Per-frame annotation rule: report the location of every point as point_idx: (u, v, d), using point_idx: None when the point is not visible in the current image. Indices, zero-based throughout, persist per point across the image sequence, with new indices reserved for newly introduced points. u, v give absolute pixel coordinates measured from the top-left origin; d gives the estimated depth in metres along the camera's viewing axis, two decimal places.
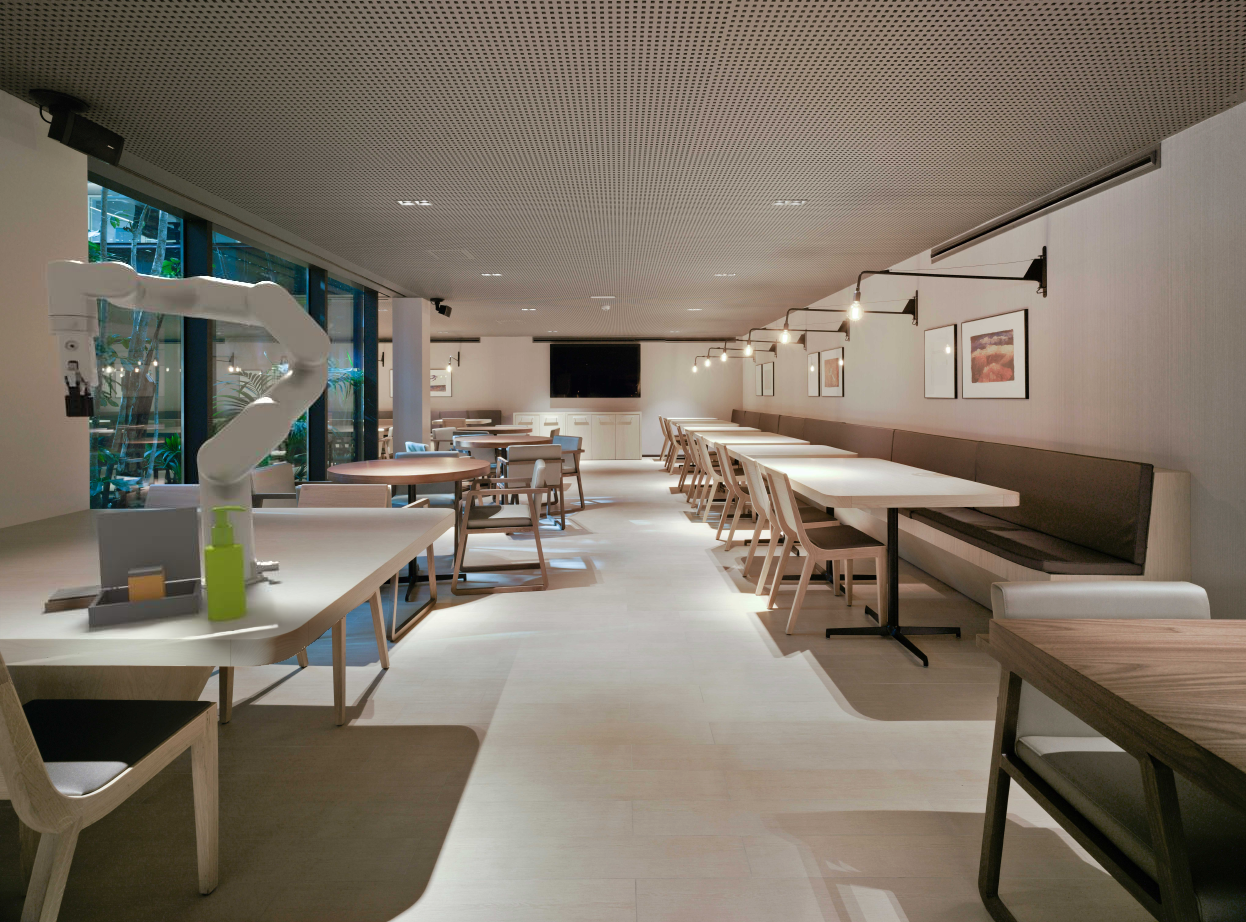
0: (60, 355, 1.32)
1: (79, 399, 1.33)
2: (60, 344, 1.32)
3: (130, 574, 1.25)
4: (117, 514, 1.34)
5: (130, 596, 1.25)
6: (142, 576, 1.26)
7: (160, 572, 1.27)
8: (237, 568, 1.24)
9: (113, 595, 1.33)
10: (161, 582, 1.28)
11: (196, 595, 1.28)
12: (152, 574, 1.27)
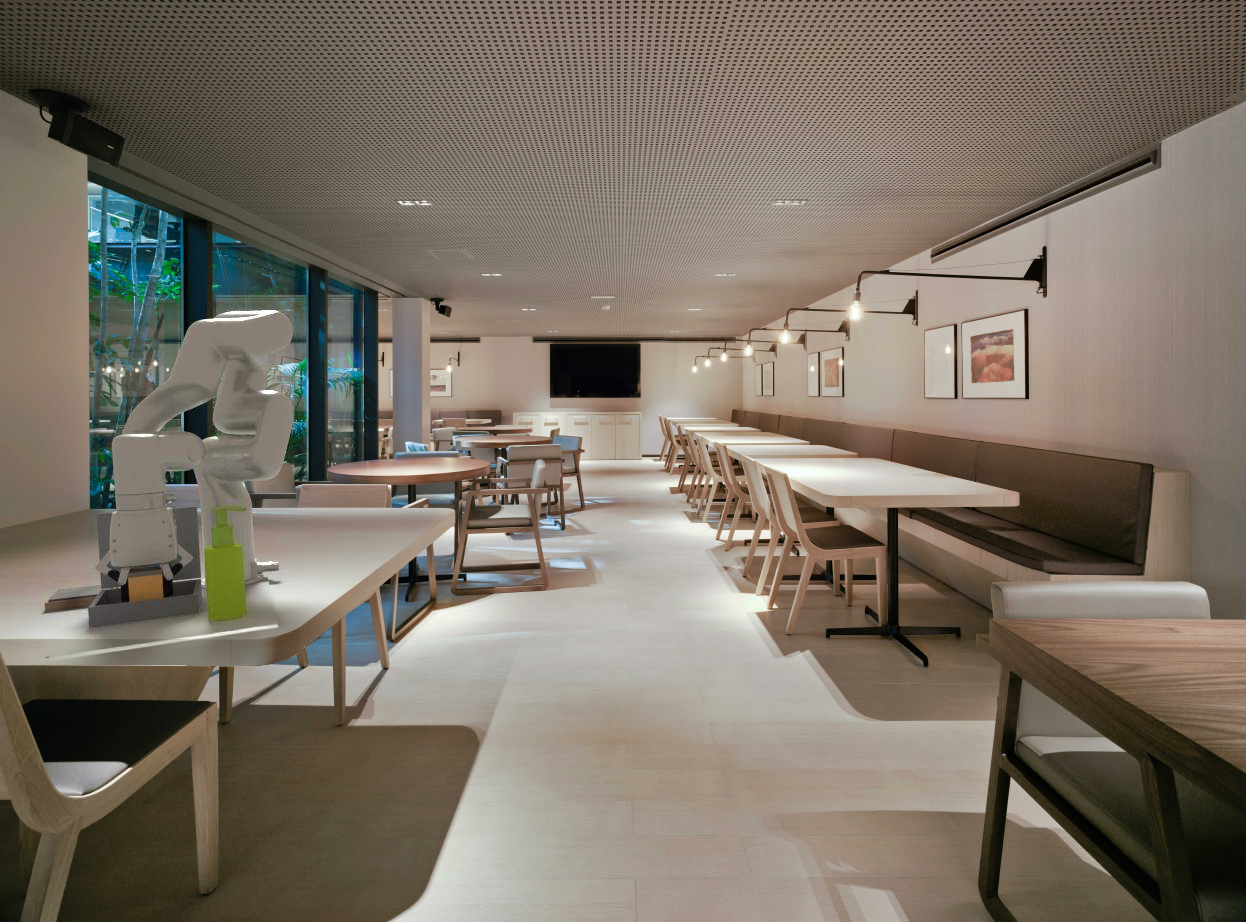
0: (173, 533, 1.29)
1: (172, 581, 1.31)
2: (171, 521, 1.28)
3: (130, 574, 1.25)
4: None
5: (130, 596, 1.25)
6: (142, 576, 1.26)
7: (160, 572, 1.27)
8: (237, 568, 1.24)
9: (113, 595, 1.33)
10: (161, 582, 1.28)
11: (196, 595, 1.28)
12: (152, 574, 1.27)
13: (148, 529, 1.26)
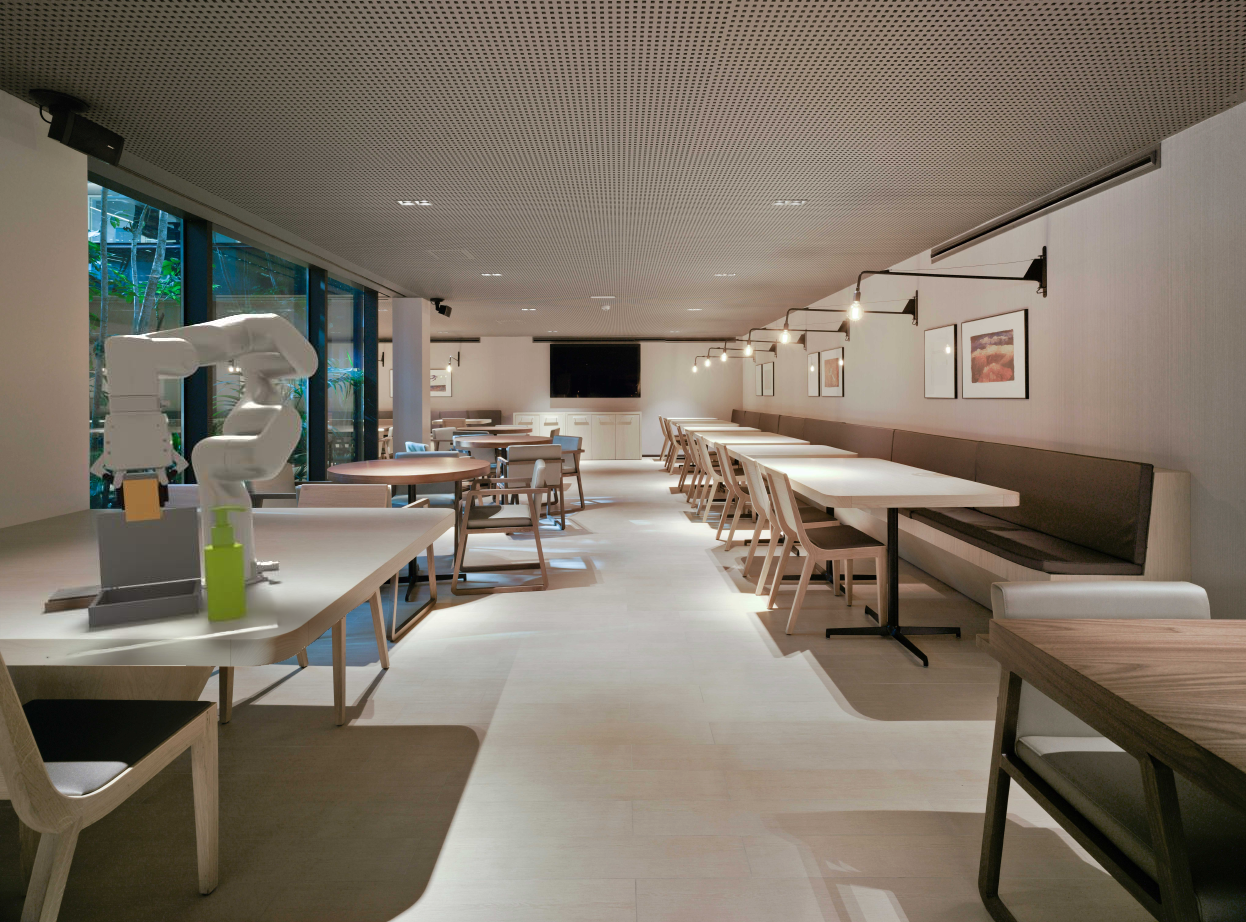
0: (168, 437, 1.27)
1: None
2: (165, 426, 1.27)
3: (125, 477, 1.24)
4: (117, 514, 1.34)
5: (125, 499, 1.25)
6: (137, 480, 1.25)
7: (155, 476, 1.26)
8: (237, 568, 1.24)
9: (113, 595, 1.33)
10: (156, 487, 1.27)
11: (196, 595, 1.28)
12: (147, 478, 1.26)
13: (142, 432, 1.25)
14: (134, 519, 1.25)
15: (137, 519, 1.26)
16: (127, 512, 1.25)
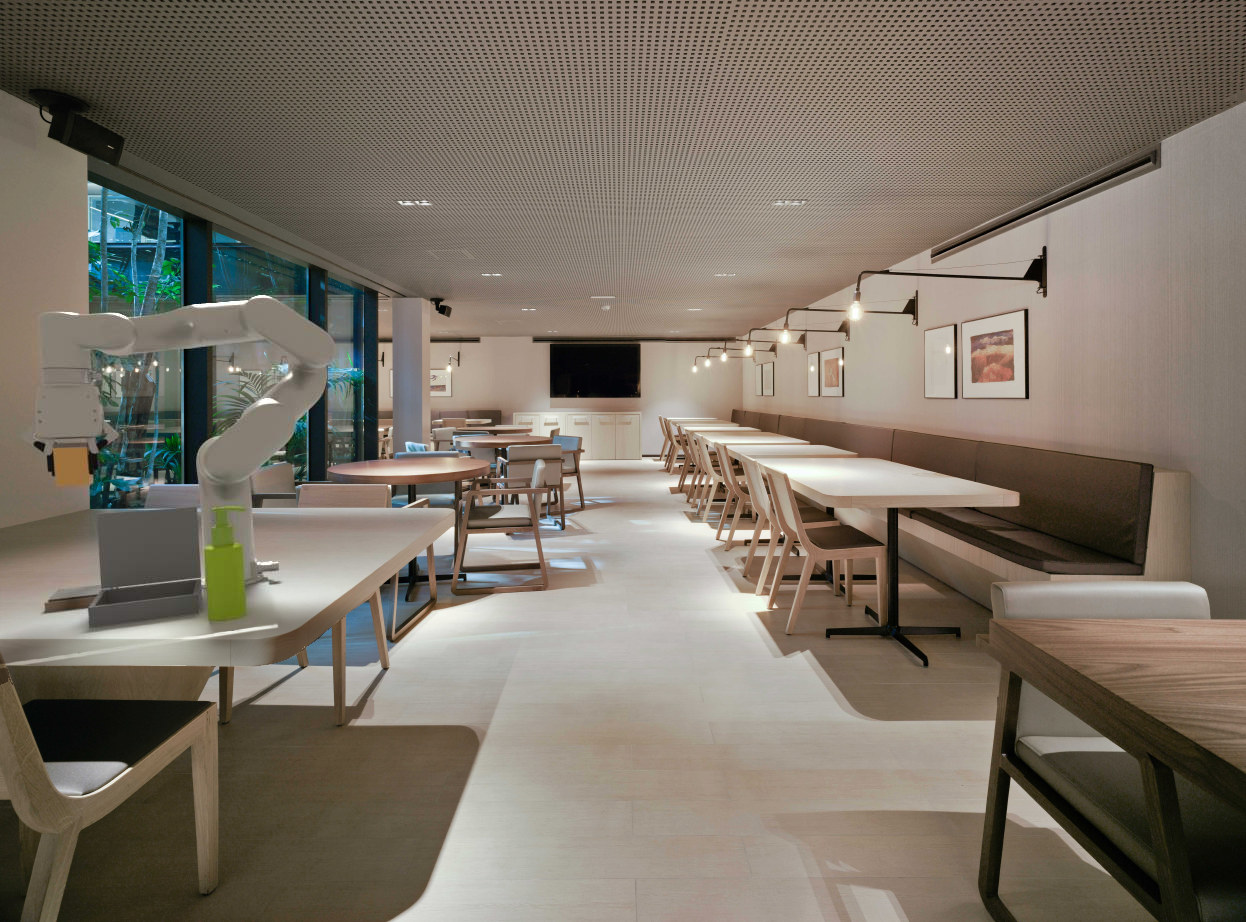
0: (98, 408, 1.35)
1: (98, 456, 1.38)
2: (96, 398, 1.35)
3: (55, 444, 1.32)
4: (117, 514, 1.34)
5: (55, 466, 1.32)
6: (67, 447, 1.33)
7: (85, 445, 1.34)
8: (237, 568, 1.24)
9: (113, 595, 1.33)
10: (86, 454, 1.34)
11: (196, 595, 1.28)
12: (77, 446, 1.34)
13: (73, 403, 1.33)
14: (63, 484, 1.33)
15: (66, 484, 1.33)
16: (57, 478, 1.32)
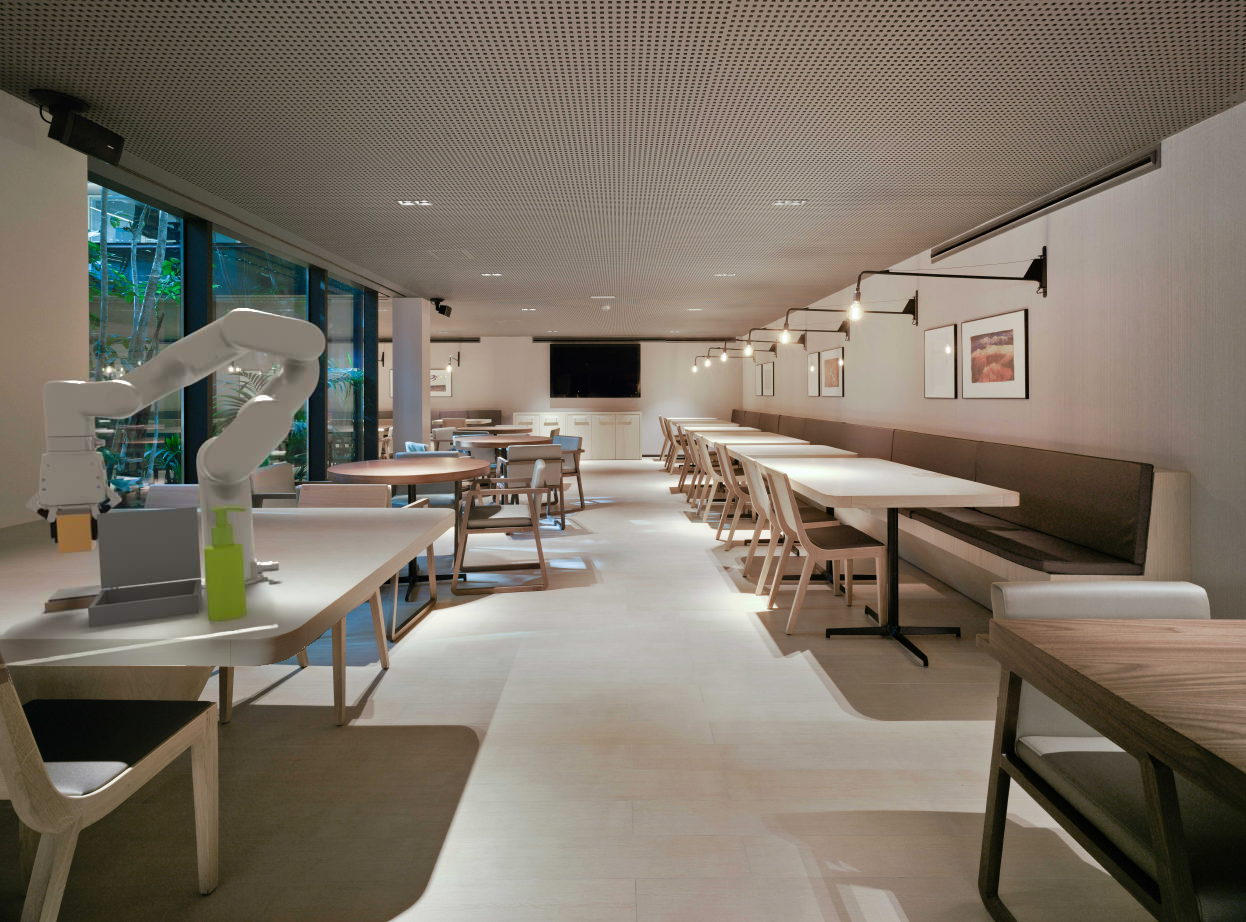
0: (101, 475, 1.36)
1: None
2: (99, 464, 1.36)
3: (58, 512, 1.33)
4: (117, 514, 1.34)
5: (58, 533, 1.33)
6: (70, 514, 1.34)
7: (88, 511, 1.35)
8: (237, 568, 1.24)
9: (113, 595, 1.33)
10: (89, 521, 1.35)
11: (196, 595, 1.28)
12: (80, 513, 1.34)
13: (77, 470, 1.34)
14: (66, 551, 1.34)
15: (69, 551, 1.34)
16: (60, 545, 1.33)
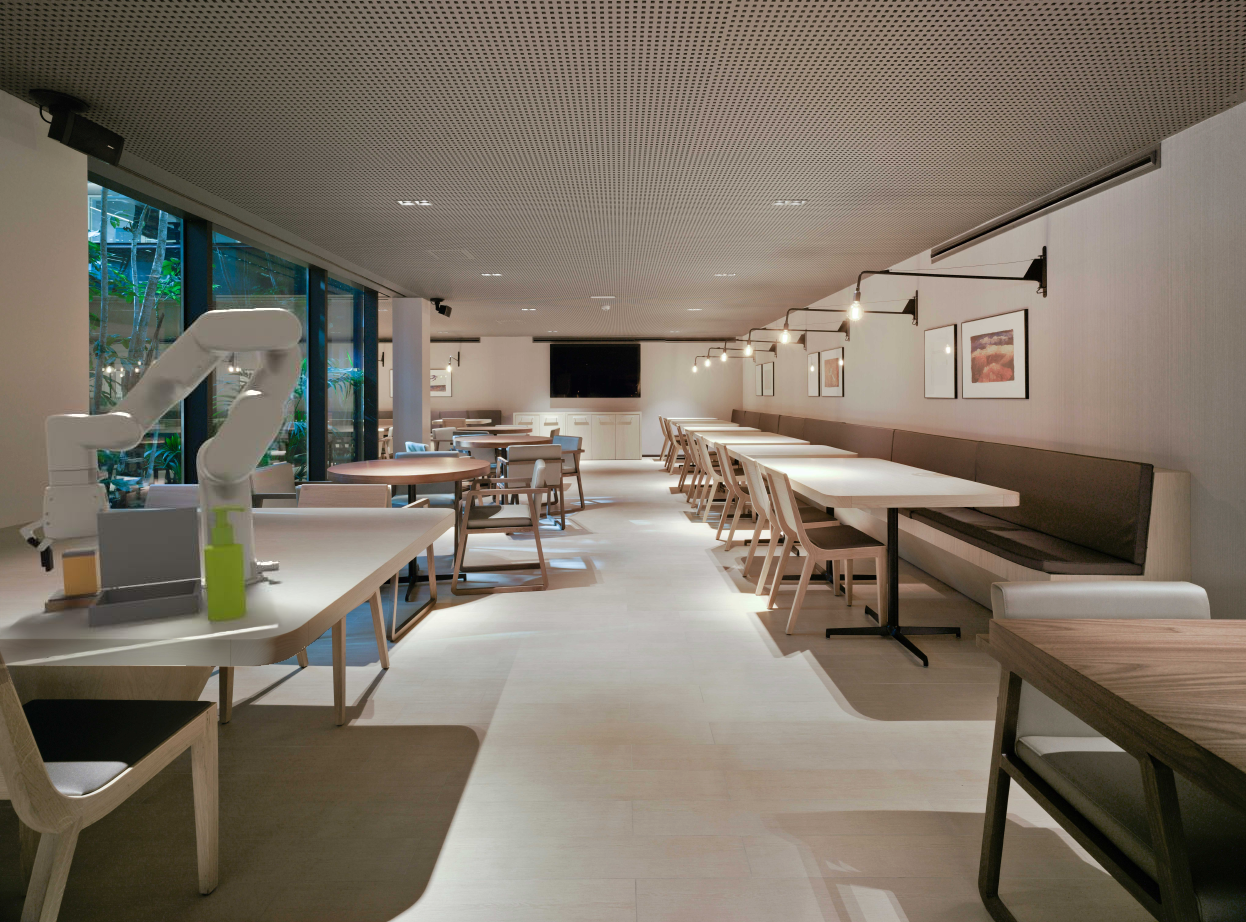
0: (104, 507, 1.37)
1: None
2: (102, 497, 1.37)
3: (64, 555, 1.34)
4: (117, 514, 1.34)
5: (64, 575, 1.34)
6: (76, 557, 1.35)
7: (93, 553, 1.36)
8: (237, 568, 1.24)
9: (113, 595, 1.33)
10: (94, 562, 1.36)
11: (196, 595, 1.28)
12: (85, 555, 1.35)
13: (80, 503, 1.35)
14: (72, 593, 1.35)
15: (75, 593, 1.35)
16: (66, 587, 1.34)
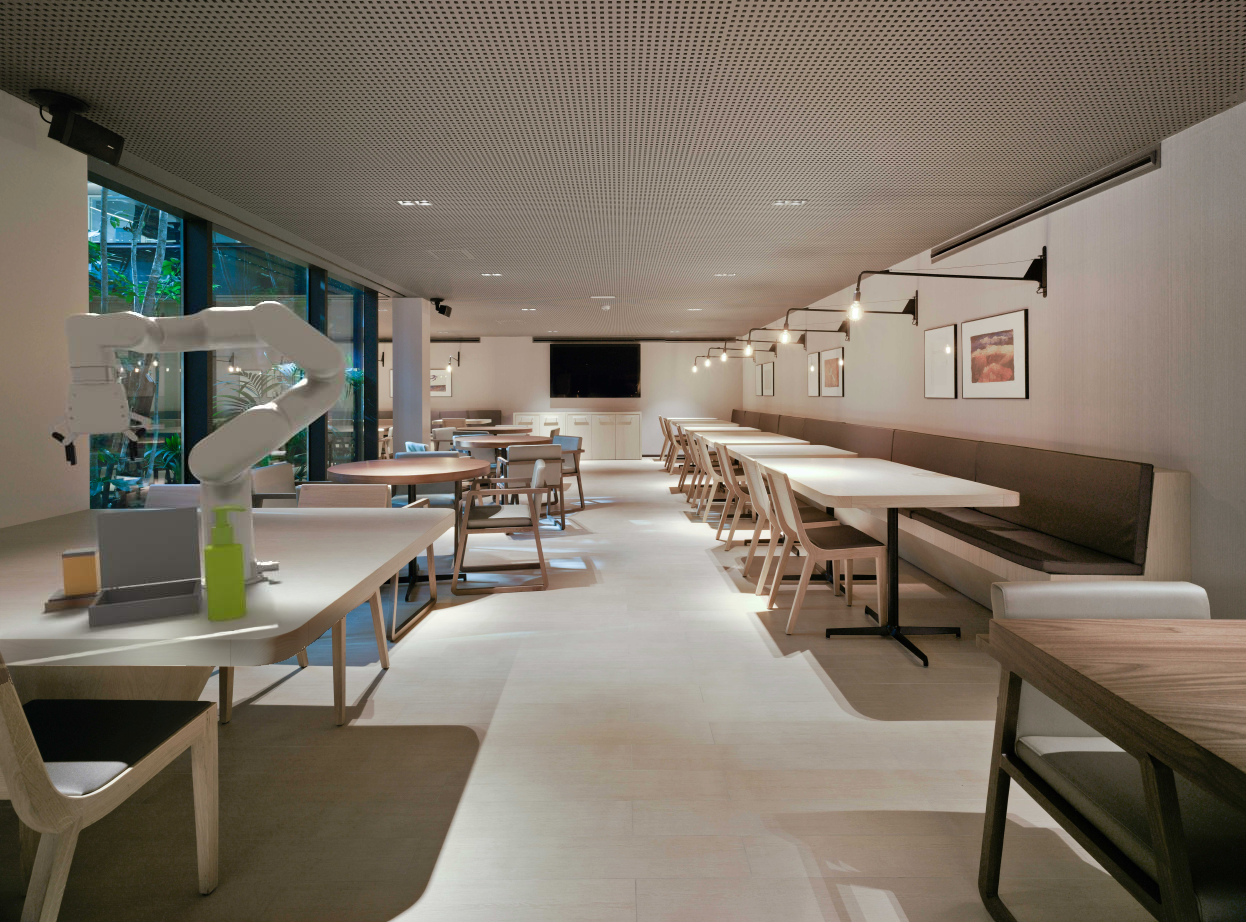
0: (125, 404, 1.43)
1: (137, 444, 1.46)
2: (123, 394, 1.43)
3: (64, 555, 1.34)
4: (117, 514, 1.34)
5: (64, 575, 1.34)
6: (76, 557, 1.35)
7: (93, 553, 1.36)
8: (237, 568, 1.24)
9: (113, 595, 1.33)
10: (94, 562, 1.36)
11: (196, 595, 1.28)
12: (85, 555, 1.35)
13: (102, 399, 1.40)
14: (72, 593, 1.35)
15: (75, 593, 1.35)
16: (66, 587, 1.34)
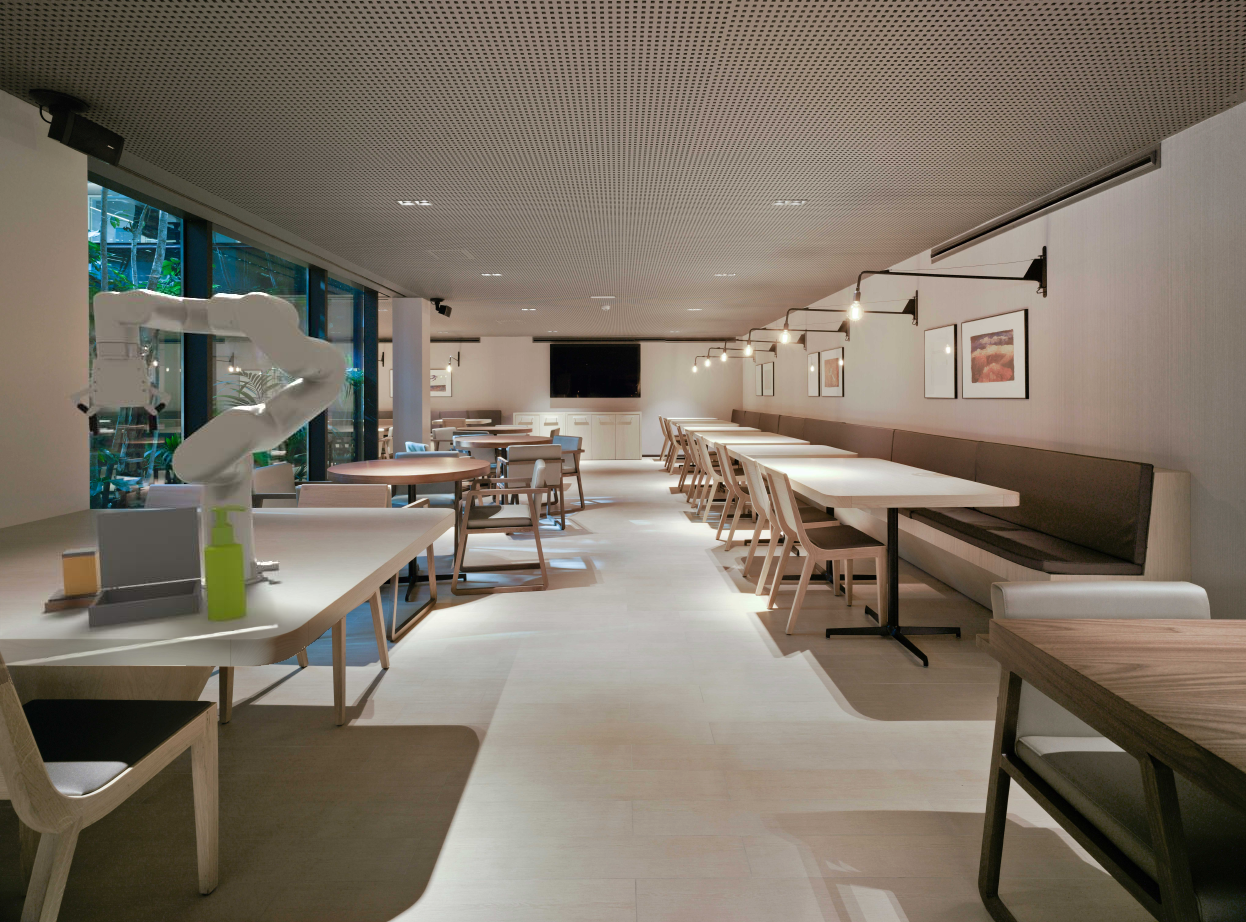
0: (146, 380, 1.50)
1: None
2: (144, 370, 1.50)
3: (64, 555, 1.34)
4: (117, 514, 1.34)
5: (64, 575, 1.34)
6: (76, 557, 1.35)
7: (93, 553, 1.36)
8: (237, 568, 1.24)
9: (113, 595, 1.33)
10: (94, 562, 1.36)
11: (196, 595, 1.28)
12: (85, 555, 1.35)
13: (124, 374, 1.47)
14: (72, 593, 1.35)
15: (75, 593, 1.35)
16: (66, 587, 1.34)
